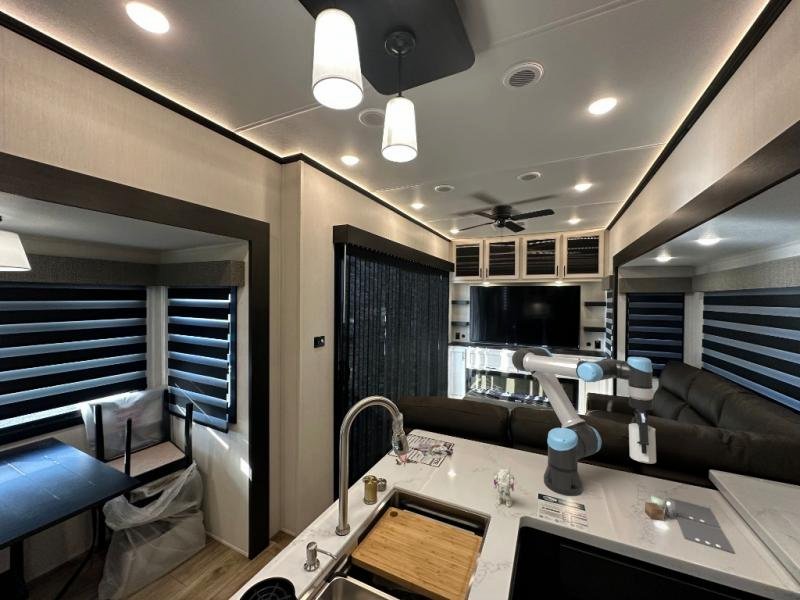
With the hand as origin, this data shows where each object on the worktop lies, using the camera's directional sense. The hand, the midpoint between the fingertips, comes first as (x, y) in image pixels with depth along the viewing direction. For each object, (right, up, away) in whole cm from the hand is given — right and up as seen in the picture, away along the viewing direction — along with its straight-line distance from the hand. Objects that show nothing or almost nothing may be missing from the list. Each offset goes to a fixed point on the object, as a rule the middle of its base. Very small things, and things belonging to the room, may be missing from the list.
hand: (642, 456), depth 121 cm
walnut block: (+1, -21, -4) cm, 21 cm away
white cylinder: (0, -1, 0) cm, 1 cm away
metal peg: (+7, -21, -4) cm, 22 cm away
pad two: (+18, -21, -2) cm, 28 cm away
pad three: (+11, -21, -13) cm, 27 cm away
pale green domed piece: (+7, -21, +2) cm, 22 cm away
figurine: (-53, -21, +4) cm, 57 cm away
